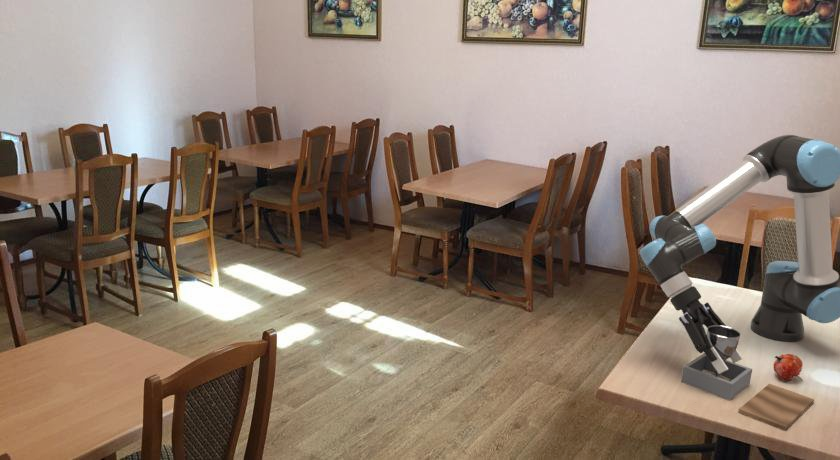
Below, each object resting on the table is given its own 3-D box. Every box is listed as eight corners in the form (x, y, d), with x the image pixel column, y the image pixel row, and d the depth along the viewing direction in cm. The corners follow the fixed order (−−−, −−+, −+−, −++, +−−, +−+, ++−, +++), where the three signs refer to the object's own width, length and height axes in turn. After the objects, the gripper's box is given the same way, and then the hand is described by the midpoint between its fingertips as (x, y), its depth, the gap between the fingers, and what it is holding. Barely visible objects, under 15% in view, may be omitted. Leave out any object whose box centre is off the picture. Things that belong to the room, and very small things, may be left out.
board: (768, 386, 187) (769, 383, 187) (813, 402, 179) (814, 399, 179) (738, 412, 173) (738, 408, 173) (785, 430, 166) (785, 426, 165)
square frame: (702, 367, 197) (704, 352, 195) (749, 384, 188) (752, 369, 187) (680, 381, 188) (683, 366, 187) (729, 400, 179) (732, 384, 178)
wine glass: (734, 392, 183) (743, 339, 179) (702, 388, 185) (710, 335, 181) (727, 378, 191) (736, 327, 187) (697, 374, 192) (705, 323, 188)
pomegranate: (790, 380, 196) (763, 356, 196) (813, 366, 192) (785, 341, 193) (792, 395, 189) (764, 369, 190) (815, 380, 186) (787, 354, 186)
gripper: (688, 289, 200) (736, 360, 194) (651, 307, 186) (701, 384, 179) (709, 277, 195) (759, 348, 189) (673, 294, 181) (725, 372, 174)
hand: (731, 366), depth 184 cm, fingers open, 9 cm apart
